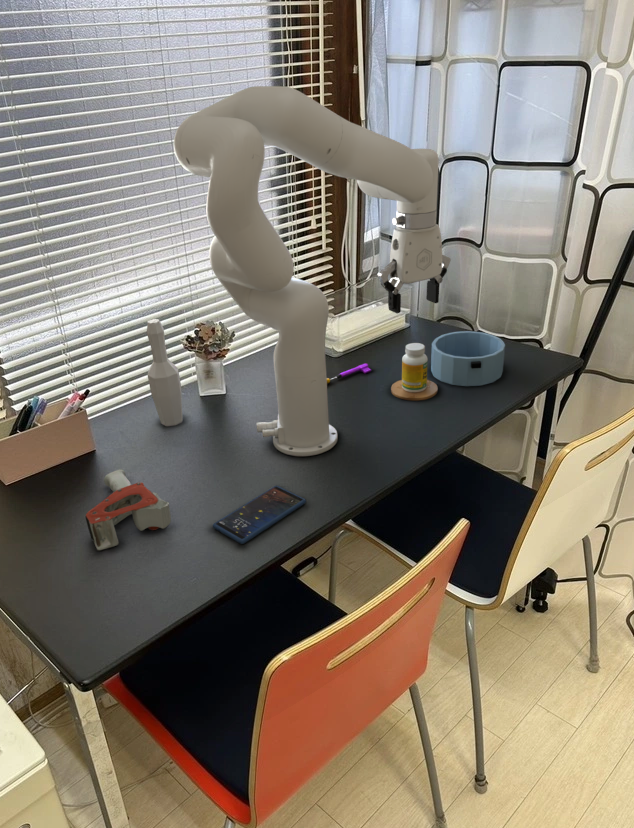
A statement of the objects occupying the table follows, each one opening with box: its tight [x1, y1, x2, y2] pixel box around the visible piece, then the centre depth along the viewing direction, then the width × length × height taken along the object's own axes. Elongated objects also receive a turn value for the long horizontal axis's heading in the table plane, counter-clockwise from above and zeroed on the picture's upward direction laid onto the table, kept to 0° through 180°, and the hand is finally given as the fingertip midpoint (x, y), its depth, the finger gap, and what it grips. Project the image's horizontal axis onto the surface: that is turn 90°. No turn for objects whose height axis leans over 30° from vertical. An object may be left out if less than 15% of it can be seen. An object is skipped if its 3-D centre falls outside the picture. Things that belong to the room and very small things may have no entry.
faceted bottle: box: [146, 318, 184, 427], centre depth 143 cm, size 6×6×22 cm
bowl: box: [430, 330, 506, 387], centre depth 158 cm, size 16×18×6 cm
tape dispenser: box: [85, 469, 172, 551], centre depth 119 cm, size 18×5×20 cm
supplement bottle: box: [401, 342, 429, 392], centre depth 151 cm, size 5×5×10 cm
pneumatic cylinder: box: [327, 363, 372, 385], centre depth 160 cm, size 3×1×16 cm
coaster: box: [390, 379, 439, 402], centre depth 153 cm, size 10×10×1 cm
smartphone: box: [212, 485, 307, 545], centre depth 117 cm, size 8×1×15 cm
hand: (413, 306), depth 144 cm, fingers open, 9 cm apart
